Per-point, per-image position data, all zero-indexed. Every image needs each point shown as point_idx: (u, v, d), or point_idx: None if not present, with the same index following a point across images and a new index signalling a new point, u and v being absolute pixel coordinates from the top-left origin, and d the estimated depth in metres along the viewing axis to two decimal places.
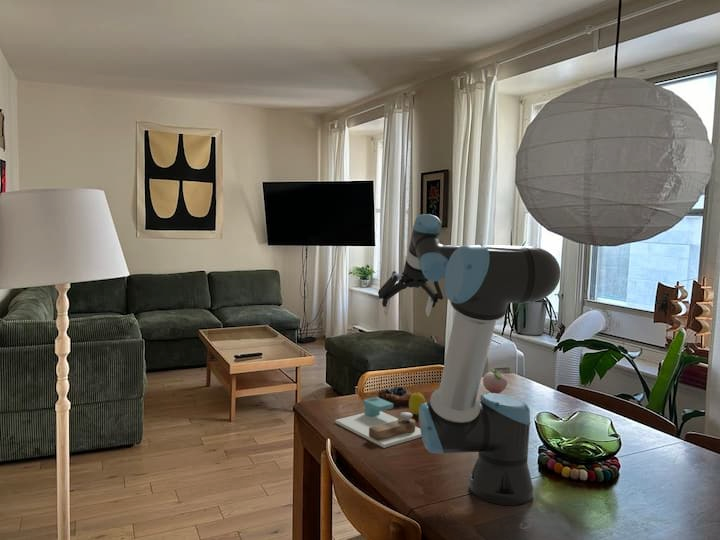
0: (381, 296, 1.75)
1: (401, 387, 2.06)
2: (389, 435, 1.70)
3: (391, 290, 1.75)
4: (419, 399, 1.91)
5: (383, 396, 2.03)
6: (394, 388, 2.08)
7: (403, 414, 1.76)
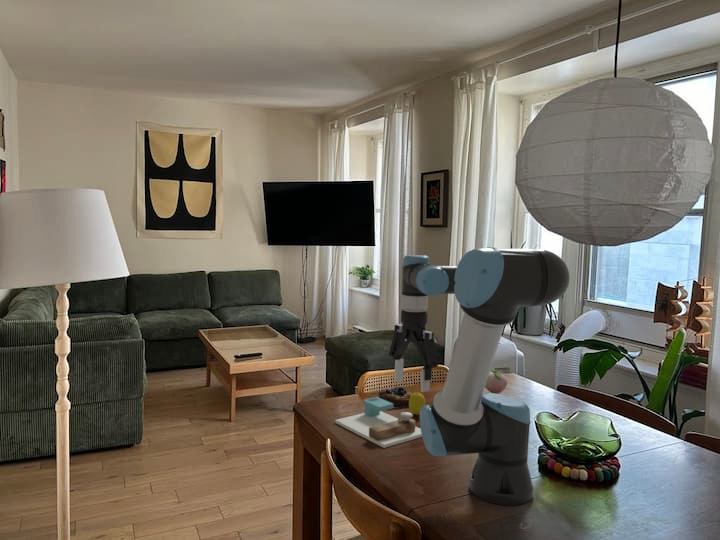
0: (390, 352, 1.70)
1: (401, 387, 2.06)
2: (389, 435, 1.70)
3: None
4: (419, 399, 1.91)
5: (384, 396, 2.03)
6: (395, 388, 2.08)
7: (403, 414, 1.76)
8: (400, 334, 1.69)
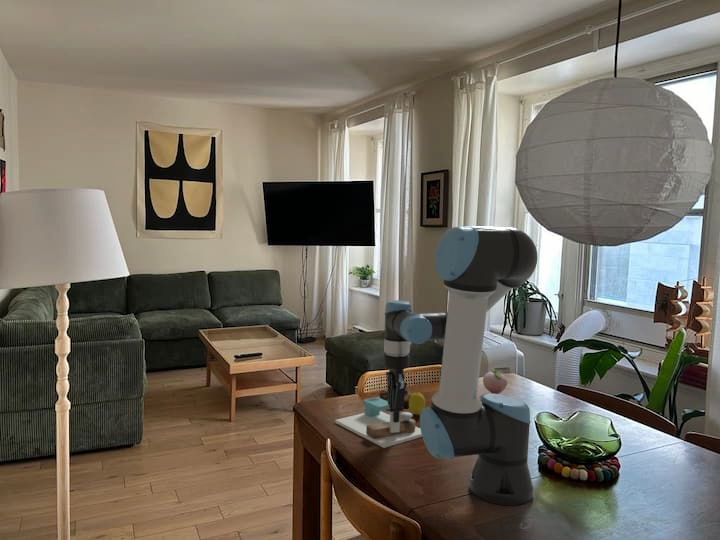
0: (388, 401, 1.73)
1: None
2: (386, 434, 1.71)
3: None
4: (419, 399, 1.91)
5: (385, 397, 2.02)
6: None
7: (403, 414, 1.76)
8: None
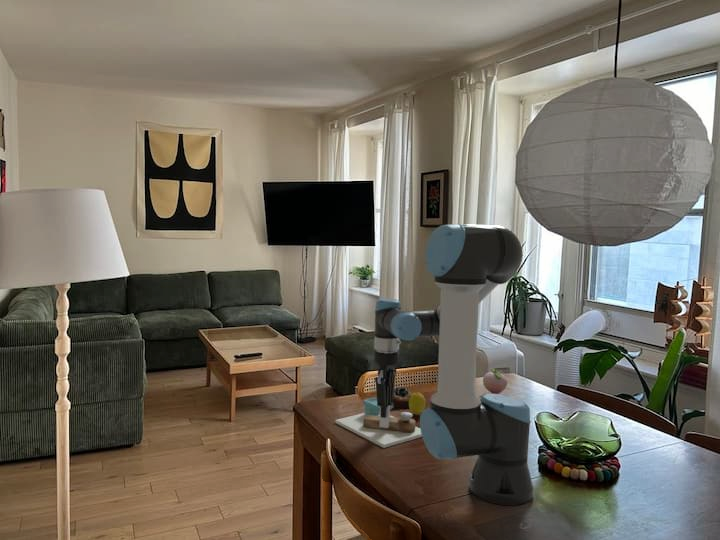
0: None
1: (403, 388, 2.05)
2: (378, 427, 1.77)
3: None
4: (419, 399, 1.91)
5: None
6: (396, 389, 2.07)
7: (403, 414, 1.76)
8: None
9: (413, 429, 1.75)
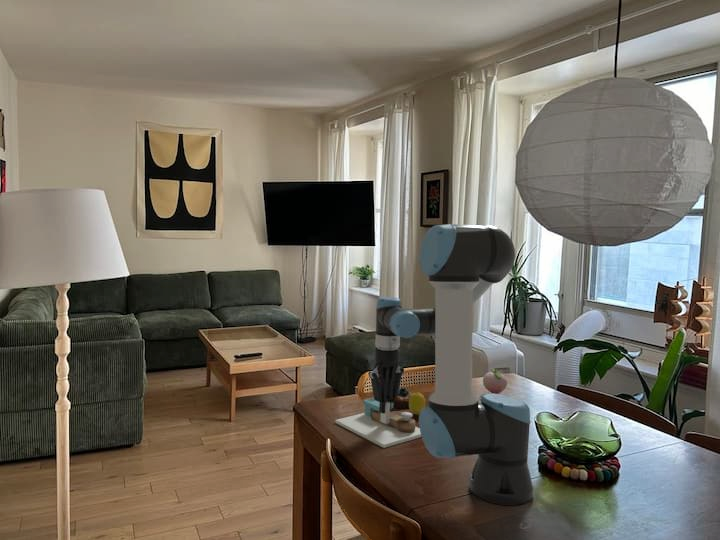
0: None
1: (404, 388, 2.05)
2: None
3: None
4: (419, 399, 1.91)
5: None
6: None
7: (403, 414, 1.76)
8: (396, 375, 1.80)
9: (409, 430, 1.74)
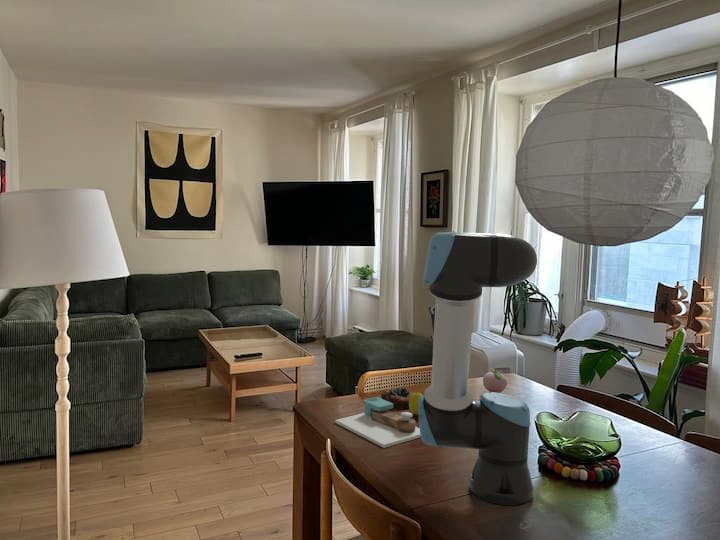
0: None
1: (404, 388, 2.05)
2: (381, 421, 1.81)
3: None
4: None
5: (388, 398, 2.01)
6: (397, 389, 2.06)
7: (403, 414, 1.76)
8: None
9: (409, 430, 1.74)
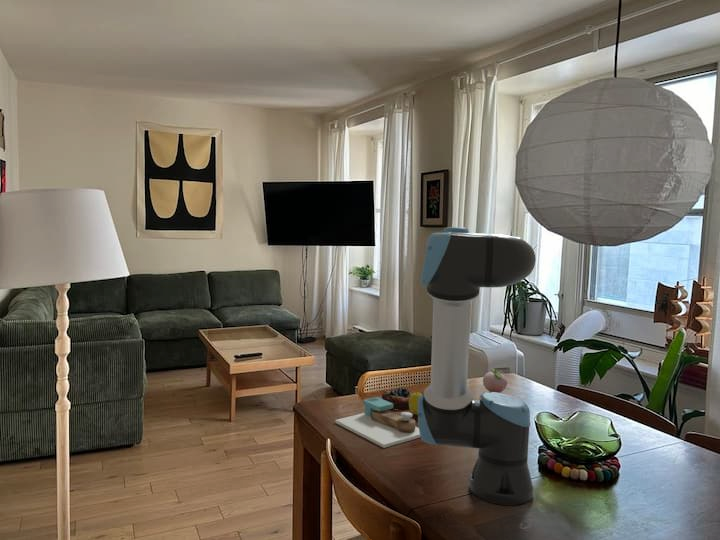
0: None
1: (405, 388, 2.04)
2: (381, 421, 1.81)
3: None
4: None
5: (388, 398, 2.01)
6: (397, 390, 2.06)
7: (403, 414, 1.76)
8: None
9: (409, 430, 1.74)
